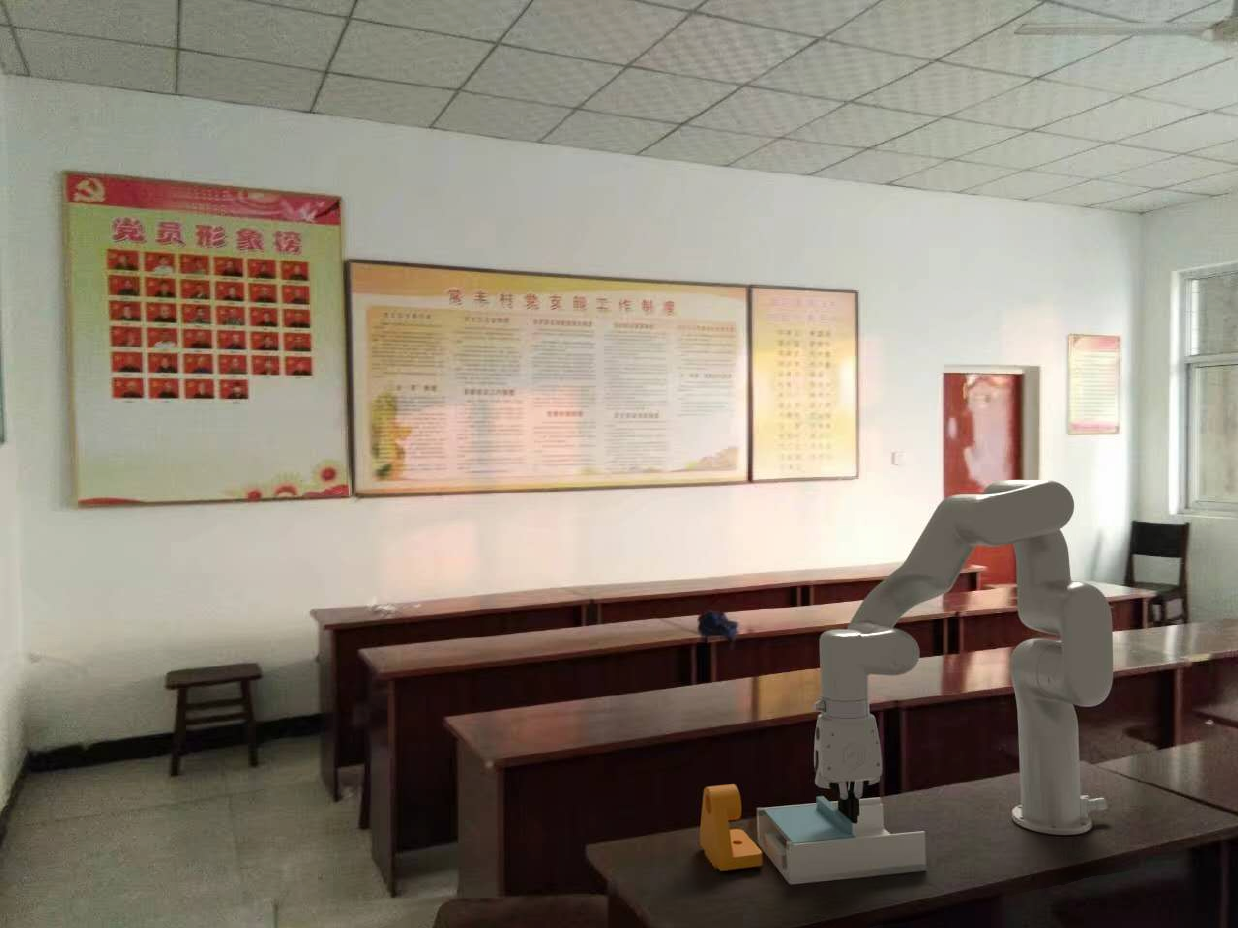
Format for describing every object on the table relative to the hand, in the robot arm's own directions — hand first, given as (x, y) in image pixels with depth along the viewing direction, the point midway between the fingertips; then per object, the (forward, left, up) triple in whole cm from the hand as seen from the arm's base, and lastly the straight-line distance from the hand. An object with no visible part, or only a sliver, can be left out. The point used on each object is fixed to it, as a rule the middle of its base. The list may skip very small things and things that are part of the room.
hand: (848, 820), depth 150 cm
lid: (+7, 0, -1) cm, 7 cm away
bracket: (+19, -3, -6) cm, 20 cm away
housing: (+2, 0, -6) cm, 6 cm away
